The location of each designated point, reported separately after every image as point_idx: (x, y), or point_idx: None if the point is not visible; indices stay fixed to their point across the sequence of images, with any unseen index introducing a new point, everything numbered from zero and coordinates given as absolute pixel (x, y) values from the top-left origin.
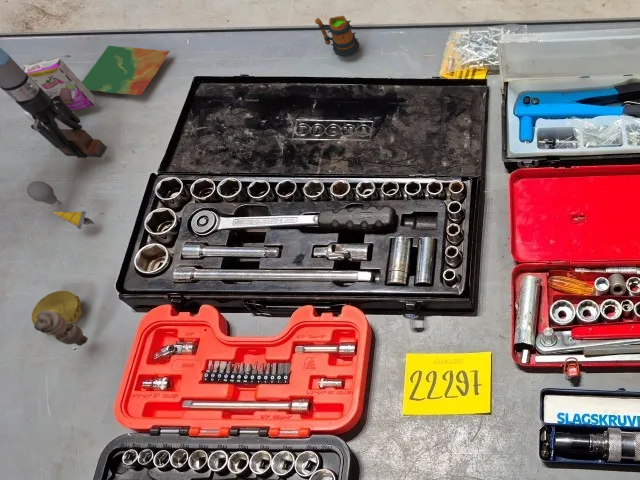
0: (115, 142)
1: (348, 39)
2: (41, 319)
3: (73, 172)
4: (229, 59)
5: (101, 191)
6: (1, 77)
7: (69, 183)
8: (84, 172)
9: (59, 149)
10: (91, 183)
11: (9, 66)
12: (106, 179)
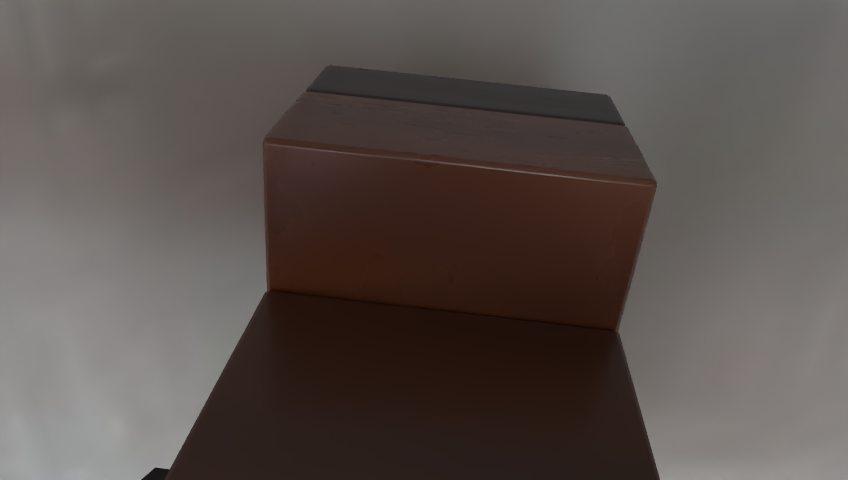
0: (727, 414)
1: None
2: None
3: (224, 26)
4: None
5: (19, 423)
6: None
7: (29, 36)
8: (240, 183)
9: (275, 135)
10: (92, 308)
11: None
12: (172, 434)
